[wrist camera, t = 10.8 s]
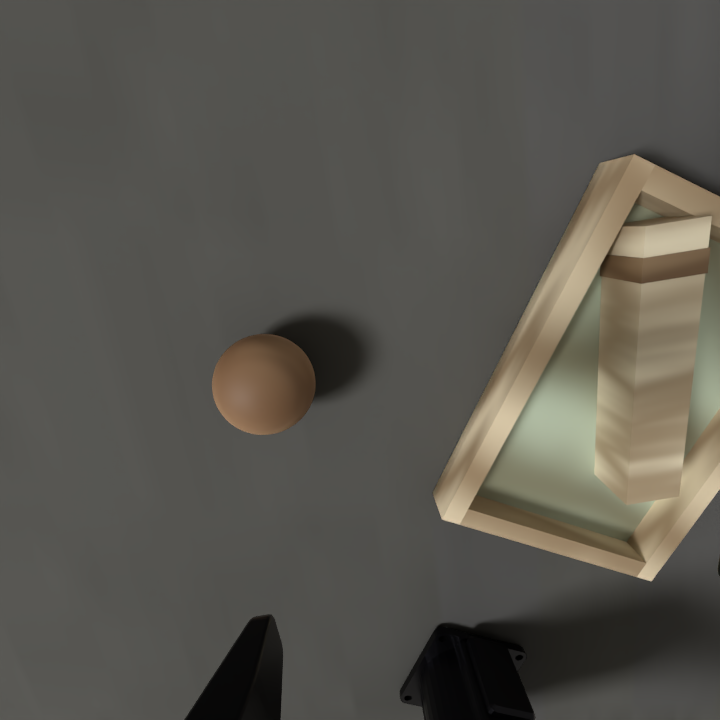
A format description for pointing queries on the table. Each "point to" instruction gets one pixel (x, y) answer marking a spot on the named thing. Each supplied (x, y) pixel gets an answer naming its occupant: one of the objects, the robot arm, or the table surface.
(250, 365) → the bead
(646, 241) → the tall beige post
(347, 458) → the table surface
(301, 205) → the table surface
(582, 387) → the tray
